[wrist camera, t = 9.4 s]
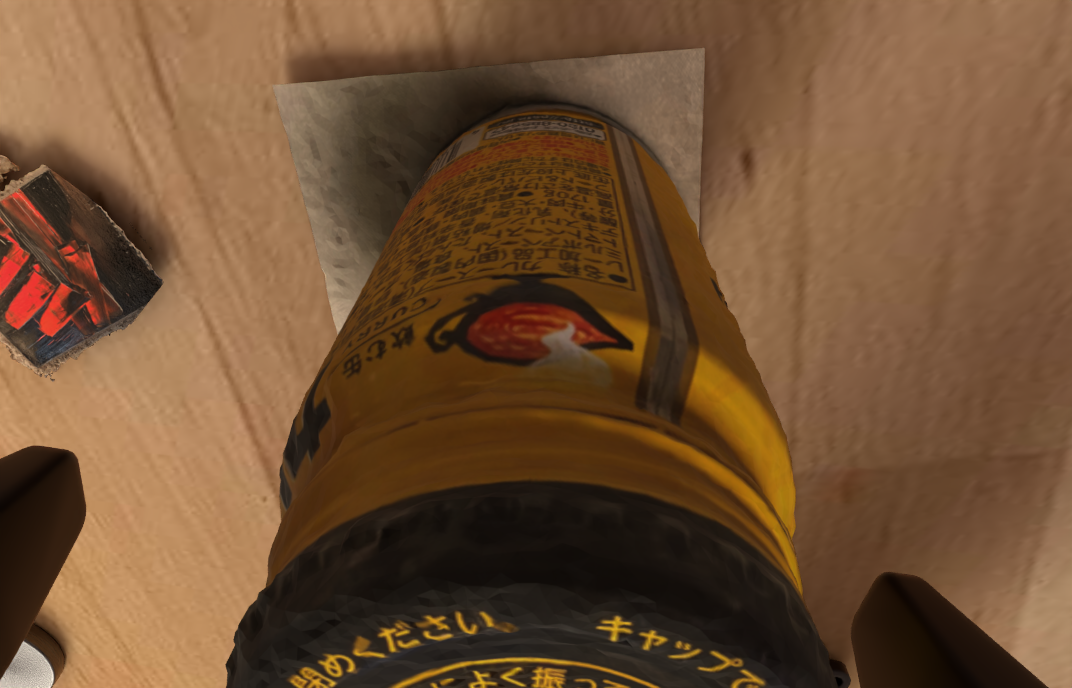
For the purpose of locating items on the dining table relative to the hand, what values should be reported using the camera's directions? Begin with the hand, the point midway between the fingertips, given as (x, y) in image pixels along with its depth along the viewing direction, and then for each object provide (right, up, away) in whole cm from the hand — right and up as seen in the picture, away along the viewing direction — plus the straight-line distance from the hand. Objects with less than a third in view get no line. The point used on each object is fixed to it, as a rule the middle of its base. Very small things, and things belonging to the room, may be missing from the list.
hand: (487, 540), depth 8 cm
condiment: (0, +5, +8) cm, 10 cm away
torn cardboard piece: (-11, +4, +9) cm, 14 cm away
